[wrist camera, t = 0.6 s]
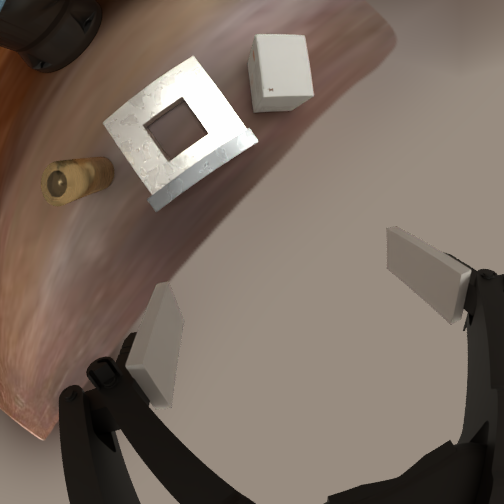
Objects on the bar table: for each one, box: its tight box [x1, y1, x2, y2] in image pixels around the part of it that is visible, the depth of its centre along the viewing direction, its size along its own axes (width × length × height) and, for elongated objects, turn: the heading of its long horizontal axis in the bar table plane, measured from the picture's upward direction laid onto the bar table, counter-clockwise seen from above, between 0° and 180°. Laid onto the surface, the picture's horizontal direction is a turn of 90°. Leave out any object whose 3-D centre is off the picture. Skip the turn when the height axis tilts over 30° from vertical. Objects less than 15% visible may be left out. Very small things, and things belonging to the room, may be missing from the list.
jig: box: [103, 56, 259, 212], centre depth 31 cm, size 15×15×6 cm
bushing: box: [41, 157, 114, 206], centre depth 29 cm, size 5×5×12 cm
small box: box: [247, 34, 314, 113], centre depth 28 cm, size 8×6×10 cm
